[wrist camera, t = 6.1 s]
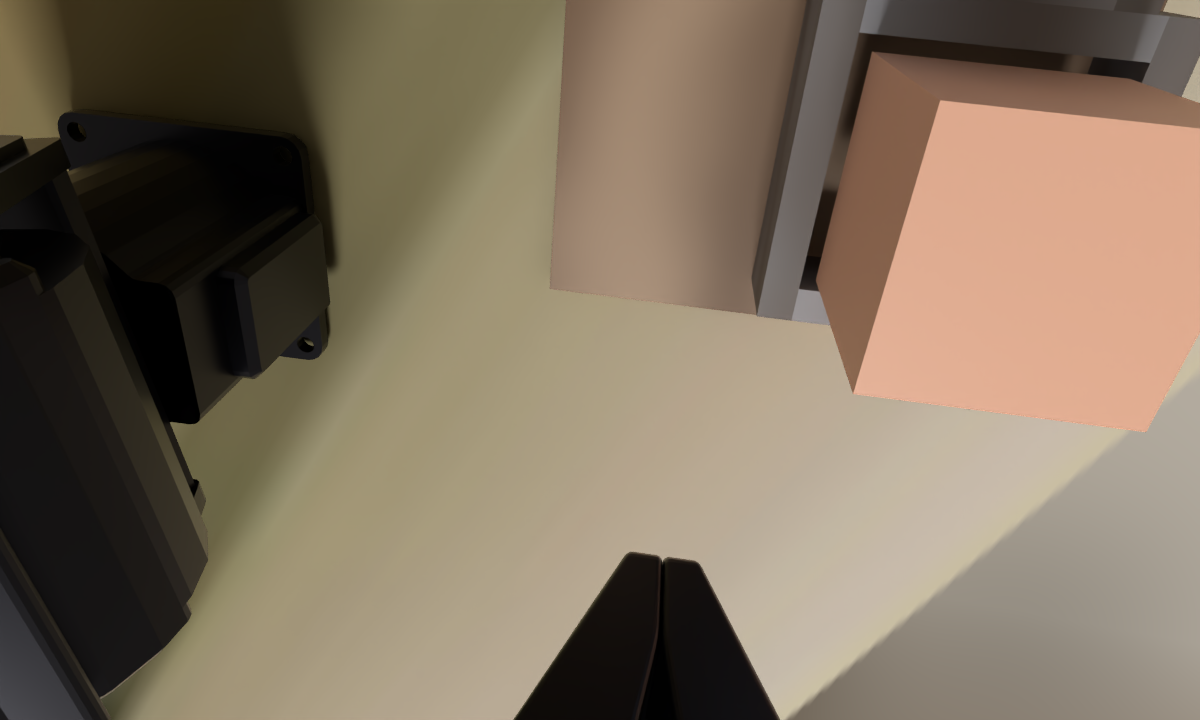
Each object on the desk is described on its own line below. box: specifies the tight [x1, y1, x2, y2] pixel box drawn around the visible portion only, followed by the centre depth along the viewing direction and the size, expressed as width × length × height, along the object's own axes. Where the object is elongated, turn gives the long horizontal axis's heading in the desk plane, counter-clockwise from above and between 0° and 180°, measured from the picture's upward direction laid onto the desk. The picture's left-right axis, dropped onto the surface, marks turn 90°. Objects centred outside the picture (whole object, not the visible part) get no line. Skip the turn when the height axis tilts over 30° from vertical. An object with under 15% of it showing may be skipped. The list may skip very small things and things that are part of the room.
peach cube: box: [816, 52, 1200, 432], centre depth 14 cm, size 5×5×5 cm
